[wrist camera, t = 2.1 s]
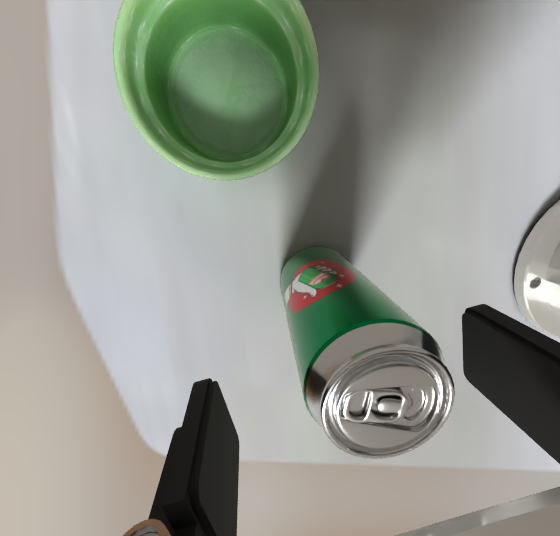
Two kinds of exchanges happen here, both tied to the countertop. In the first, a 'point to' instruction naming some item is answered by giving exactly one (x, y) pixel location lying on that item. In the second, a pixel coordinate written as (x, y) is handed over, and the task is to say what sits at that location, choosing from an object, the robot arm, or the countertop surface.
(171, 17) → the ramekin
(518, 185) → the countertop surface
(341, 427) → the soda can
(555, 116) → the countertop surface
